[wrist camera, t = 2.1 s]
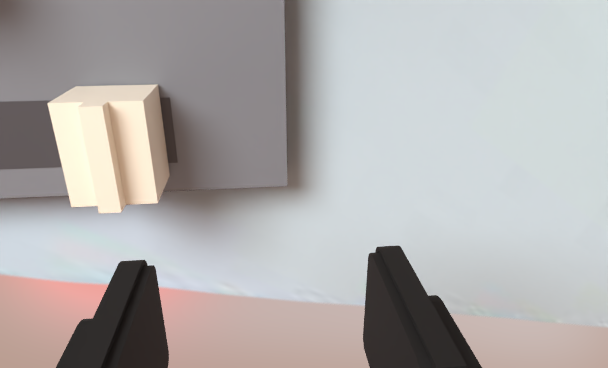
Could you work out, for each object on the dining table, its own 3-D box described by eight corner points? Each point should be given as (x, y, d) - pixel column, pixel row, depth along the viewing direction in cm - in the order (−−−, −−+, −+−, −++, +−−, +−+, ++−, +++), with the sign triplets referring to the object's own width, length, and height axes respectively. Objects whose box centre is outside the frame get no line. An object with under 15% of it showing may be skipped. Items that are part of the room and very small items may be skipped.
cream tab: (158, 84, 23) (138, 105, 19) (169, 175, 25) (154, 210, 21) (75, 86, 23) (39, 107, 19) (94, 178, 25) (65, 214, 21)
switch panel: (278, -162, 22) (281, -179, 19) (284, 169, 29) (287, 186, 26) (-285, -178, 20) (-357, -199, 17) (-131, 186, 26) (-168, 205, 24)
